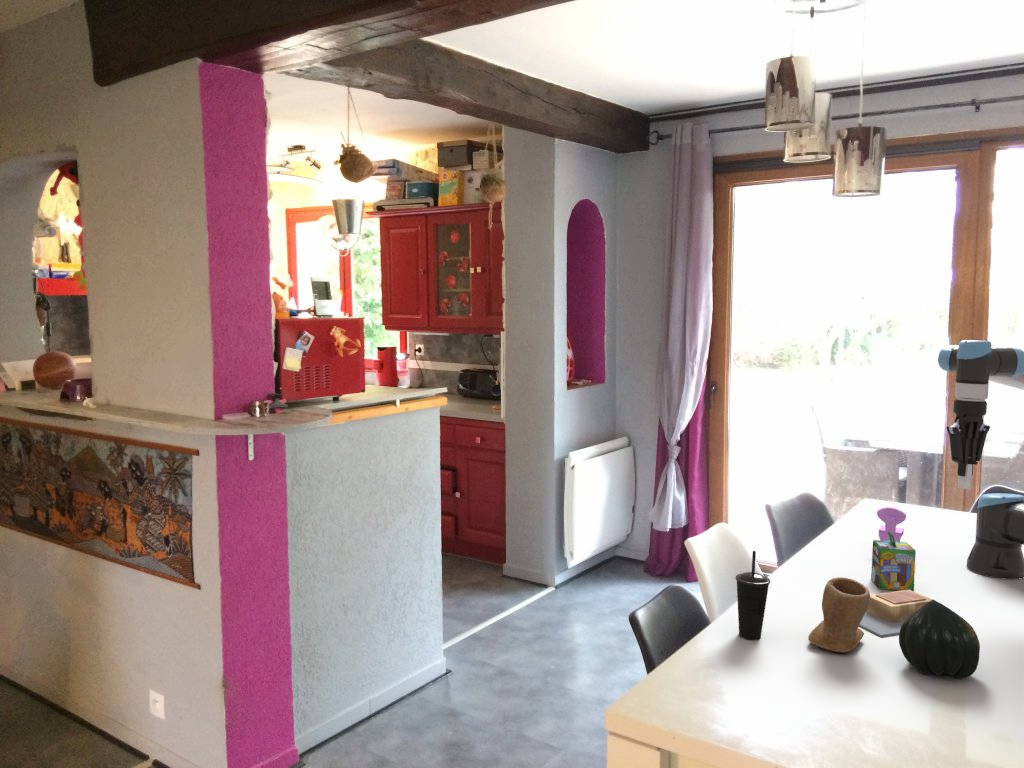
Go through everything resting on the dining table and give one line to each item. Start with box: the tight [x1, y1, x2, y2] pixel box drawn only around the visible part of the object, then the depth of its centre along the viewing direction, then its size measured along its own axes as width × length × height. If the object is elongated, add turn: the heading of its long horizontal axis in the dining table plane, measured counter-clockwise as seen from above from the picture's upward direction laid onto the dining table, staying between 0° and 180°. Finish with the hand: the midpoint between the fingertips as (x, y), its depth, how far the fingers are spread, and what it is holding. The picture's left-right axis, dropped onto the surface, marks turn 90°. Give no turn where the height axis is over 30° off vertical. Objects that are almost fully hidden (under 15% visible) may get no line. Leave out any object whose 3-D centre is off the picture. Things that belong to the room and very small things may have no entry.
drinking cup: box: [735, 550, 771, 641], centre depth 182 cm, size 8×8×20 cm
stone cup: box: [808, 576, 871, 653], centre depth 179 cm, size 15×12×15 cm
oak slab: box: [867, 590, 934, 623], centre depth 197 cm, size 4×8×14 cm
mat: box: [858, 611, 904, 638], centre depth 196 cm, size 20×18×1 cm
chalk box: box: [870, 531, 916, 592], centre depth 219 cm, size 9×9×15 cm
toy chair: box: [876, 506, 907, 542], centre depth 250 cm, size 8×9×15 cm
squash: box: [898, 599, 981, 679], centre depth 167 cm, size 14×15×15 cm
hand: (963, 488), depth 210 cm, fingers closed
